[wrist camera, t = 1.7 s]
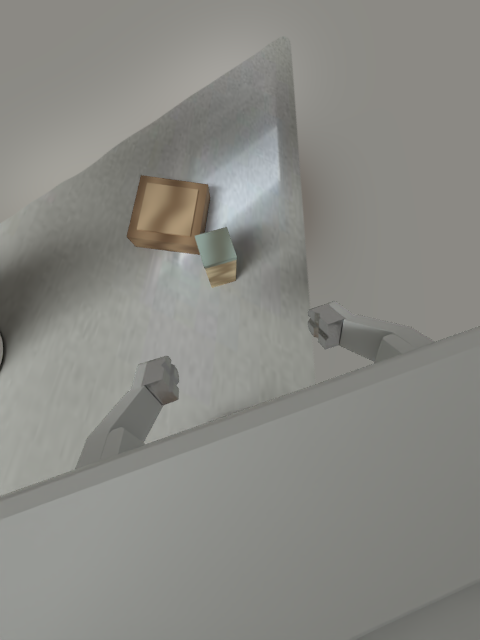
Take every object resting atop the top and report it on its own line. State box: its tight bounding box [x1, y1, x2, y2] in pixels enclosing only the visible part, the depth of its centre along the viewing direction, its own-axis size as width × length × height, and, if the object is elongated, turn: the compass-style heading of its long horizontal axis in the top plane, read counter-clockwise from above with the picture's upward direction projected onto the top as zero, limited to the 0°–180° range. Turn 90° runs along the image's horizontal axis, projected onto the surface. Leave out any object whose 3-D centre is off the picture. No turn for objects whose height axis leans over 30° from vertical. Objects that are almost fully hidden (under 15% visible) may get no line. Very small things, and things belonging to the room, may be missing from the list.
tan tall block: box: [195, 227, 237, 288], centre depth 30 cm, size 5×5×9 cm
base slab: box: [127, 175, 210, 255], centre depth 34 cm, size 12×12×3 cm
